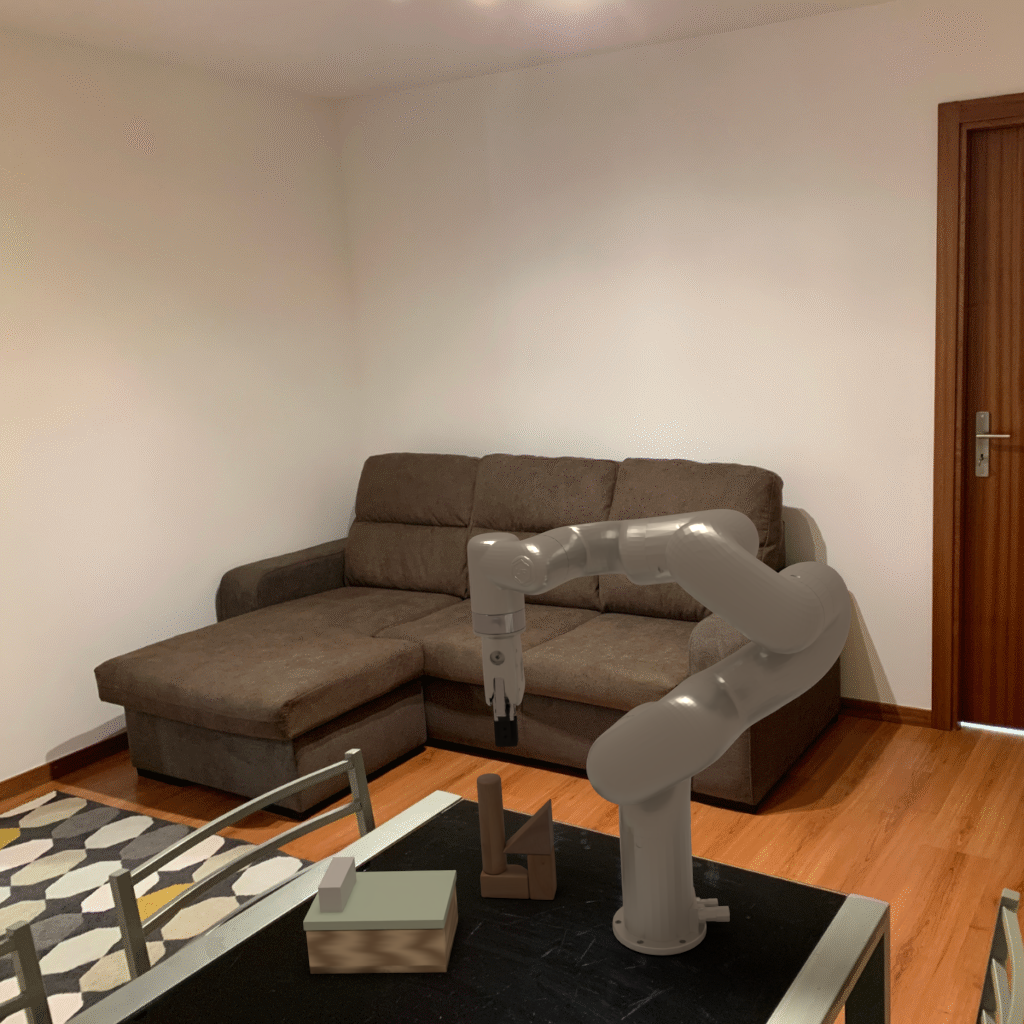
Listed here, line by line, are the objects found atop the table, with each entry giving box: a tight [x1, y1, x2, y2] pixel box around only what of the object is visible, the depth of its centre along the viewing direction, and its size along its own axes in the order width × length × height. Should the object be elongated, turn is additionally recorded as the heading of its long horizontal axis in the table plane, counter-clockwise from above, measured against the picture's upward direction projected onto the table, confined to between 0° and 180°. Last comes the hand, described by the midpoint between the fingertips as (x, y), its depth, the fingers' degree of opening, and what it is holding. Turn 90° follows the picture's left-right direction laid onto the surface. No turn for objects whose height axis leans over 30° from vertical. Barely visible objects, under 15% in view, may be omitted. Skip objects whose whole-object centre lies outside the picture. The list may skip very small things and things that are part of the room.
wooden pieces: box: [476, 772, 557, 901], centre depth 148 cm, size 4×11×18 cm, turn 80°
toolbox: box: [305, 883, 459, 975], centre depth 137 cm, size 18×12×6 cm, turn 85°
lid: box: [302, 856, 458, 931], centre depth 137 cm, size 18×12×5 cm
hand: (507, 744), depth 146 cm, fingers closed
